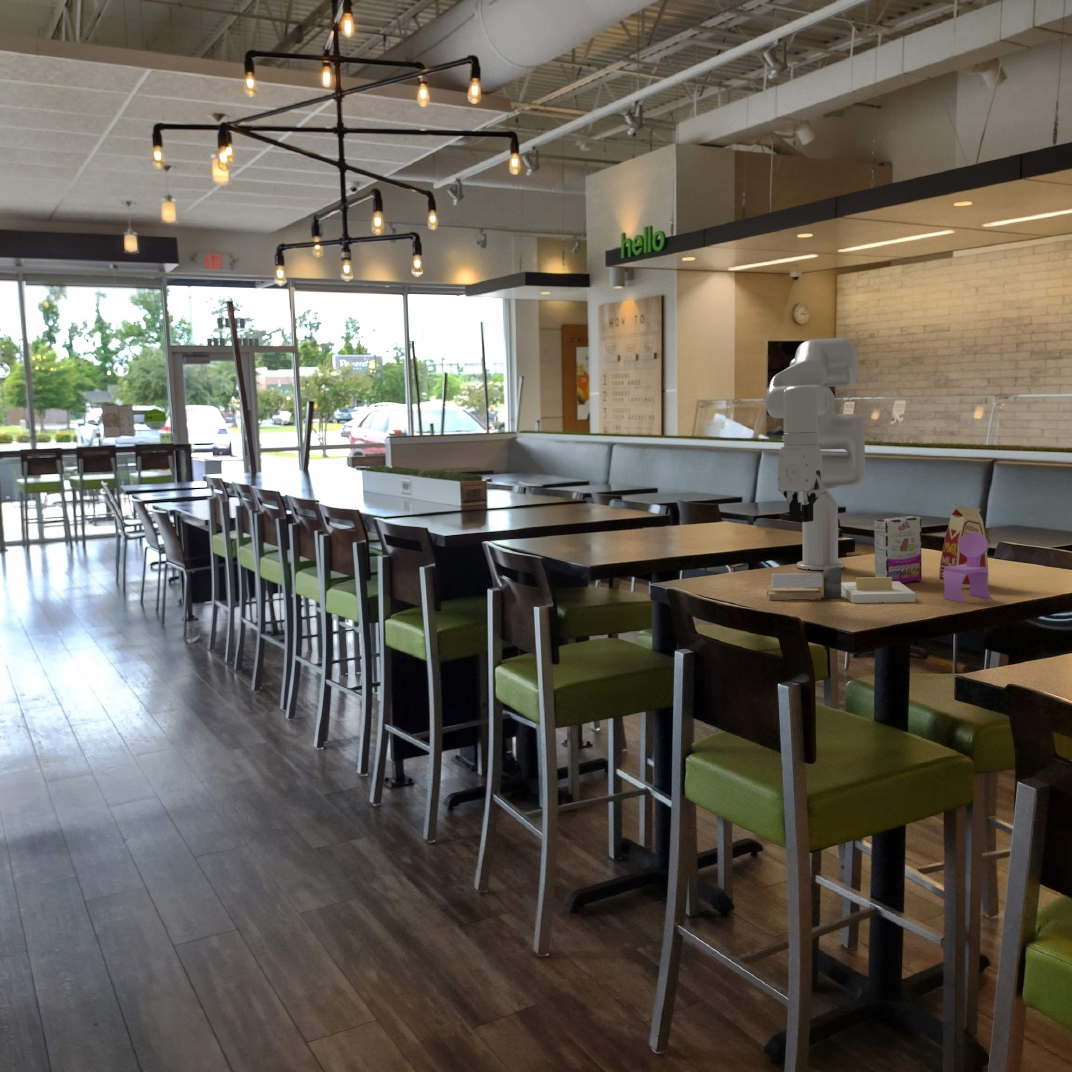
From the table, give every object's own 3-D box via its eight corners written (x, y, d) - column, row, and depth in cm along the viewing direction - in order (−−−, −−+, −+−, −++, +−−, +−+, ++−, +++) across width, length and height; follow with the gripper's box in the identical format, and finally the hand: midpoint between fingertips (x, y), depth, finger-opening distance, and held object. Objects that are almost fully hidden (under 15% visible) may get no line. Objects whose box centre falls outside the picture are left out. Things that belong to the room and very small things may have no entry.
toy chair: (938, 598, 233) (938, 533, 231) (966, 594, 237) (967, 530, 235) (966, 603, 226) (967, 537, 224) (995, 599, 229) (996, 534, 227)
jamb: (766, 595, 244) (766, 566, 244) (838, 594, 242) (838, 565, 242) (769, 600, 239) (769, 570, 238) (843, 598, 236) (843, 569, 236)
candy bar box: (908, 578, 259) (908, 515, 257) (922, 581, 255) (922, 516, 253) (873, 583, 255) (873, 518, 253) (886, 586, 251) (887, 520, 249)
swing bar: (820, 585, 241) (820, 572, 240) (822, 587, 238) (822, 574, 238) (771, 586, 242) (771, 573, 242) (772, 587, 240) (772, 575, 240)
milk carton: (959, 588, 244) (960, 506, 242) (936, 582, 253) (937, 502, 251) (992, 585, 246) (994, 503, 243) (969, 579, 255) (970, 500, 252)
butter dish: (839, 590, 247) (839, 571, 247) (898, 589, 245) (898, 569, 245) (851, 602, 231) (851, 582, 231) (915, 602, 230) (915, 581, 229)
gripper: (762, 441, 234) (763, 520, 236) (817, 441, 221) (817, 525, 223) (785, 439, 238) (785, 517, 241) (840, 439, 225) (840, 522, 227)
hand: (801, 520), depth 232 cm, fingers open, 3 cm apart
